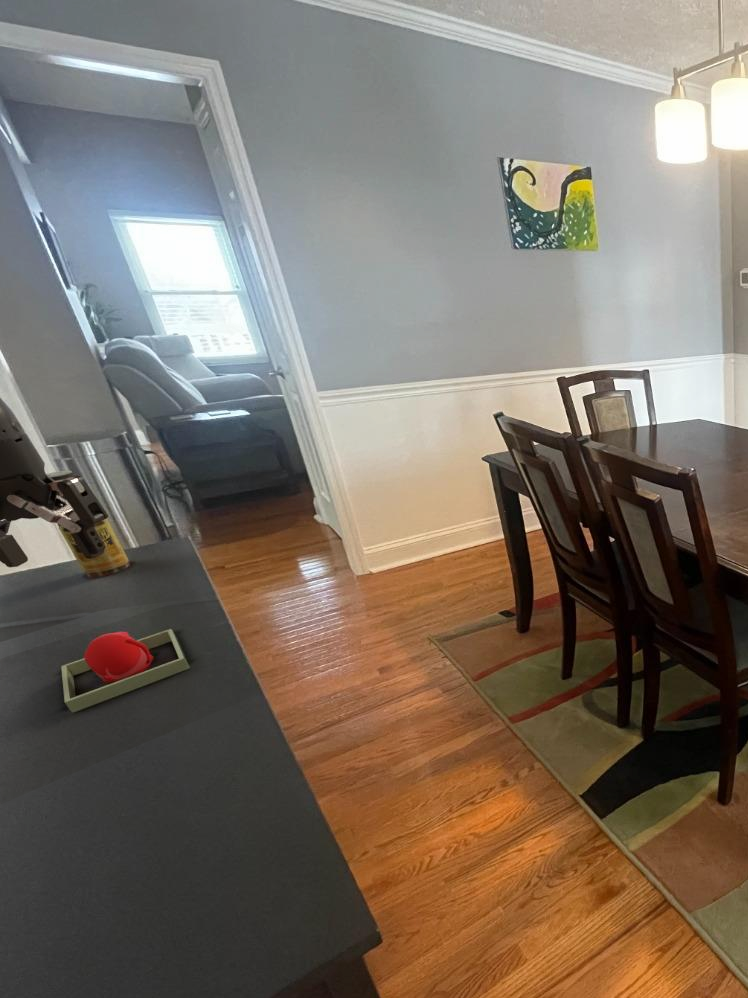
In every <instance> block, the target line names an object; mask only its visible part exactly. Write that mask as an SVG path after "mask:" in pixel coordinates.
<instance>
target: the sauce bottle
mask: <svg viewBox="0 0 748 998" xmlns="http://www.w3.org/2000/svg"><path fill="white" fill-rule="evenodd" d="M46 474H47V475H48V476H49V477H50V478H51V479H52V480H54V481H57V480H63V479H67V478H69V477H73V476H75V475H76V474H75V473H74V472H73V471H72V470H61V471H53V472H49V473H46ZM57 495H58V496H59V492H58V493H57ZM60 497H61V496H60ZM62 498H64V499H65V500H66V498H65V497H64V496H63V497H62ZM58 509H59V508H57V507H56V506H54V508H53V511H56V510H58ZM88 509H89V508H88ZM90 512H91V511H90ZM69 518H70V517H69ZM72 520H73V519H72ZM74 521H75V520H74ZM56 524H57V523H56ZM57 526H58V530H59V531H60V533H61V535H62V536H63V538H64V541H65V542H66V544H67V545H68V547H69V549H70V551H71V552H72V554H73V556H74V559H75V560H76V561H77V564H78V565H79V567H80V568H81V570H82V572H83V573H85V576H86V577H87V578H91V579H92V578H93V579H96V578H102V577H106V576H111V575H113V574H116V573H120V572H122V571H124V570H126V569H127V568H128V567H130V566H131V563H130V560H129V558H128V556H127V554H126V552H125V550H124V549H123V547H122V545H121V543H120V541H119V539H118V538H117V536H116V533H115V531H114V530H113V527H112V526H111V524H110V522H109V520H108V518H106V519H105V520H102V521H100V522H99V523H97V524H95V526H94V527H95V530H96V531H97V533H98V534H99V536H100V538H101V539H102V541H103V543H104V544H105V549H104V553H103V554H101V555H100V556H98V557H96V558H91V559H87V558H85V556H84V555H83V553H82V552H81V550H80V548H79V547H78V545H77V544H76V542H75V540H74V539H73V537H72V536H71V533H73V532H72V531H70V530H68V529H66V528H64V527H63V526H61V525H59V524H57Z"/></svg>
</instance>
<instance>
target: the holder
mask: <svg viewBox="0 0 748 998" xmlns="http://www.w3.org/2000/svg"><path fill="white" fill-rule="evenodd" d="M136 641H138V642H141V643H143V644H144V645H145V646H146V647H147V648H148V650H151V649H154V648H156V647H160V646H162V645H165V644H167V643H172V645H173V647H174V650H175V652H176V655H177V657H178V659H174V660H172V661H169V662H166V663H164V664H161V665H157V666H156V667H152V668H150V669H148V670H147V669H146V670H144V671H143V672H141V673H139V674H136V675H134V676H131V677H128V678H125V679H123V680H120V681H117V682H115V683H108V684H107V685H104V686H101V687H99V688H98V687H97V688H95V689H93V690H90V691H88V692H85V693H82V694H79V695H76V694H77V693H76V689H75V688H76V687H75V679H74V676H77V675H80V674H82V673H85V672H88V671H92V669H91V668H90V667H89V666H88V664H87V662H86V661H85V658H84V657H83V658H81V659H78V660H75V661H72V662H70V663H66V664H63V665H61V667H60V669H61V678H62V690H63V699H64V700H63V701H64V703H65V705H66V707H67V709H68V710H69V711H70V712H71V713H72V714H74V713H76V712H79V711H82V710H85V709H87V708H90V707H92V706H96V705H97V704H100V703H103V702H105V701H108V700H111V699H112V698H116V697H118V696H121V695H124V694H126V693H129V692H132V691H134V690H136V689H139V688H142V687H144V686H147V685H150V684H153V683H156V682H158V681H160V680H163V679H165V678H168V677H172V676H174V675H176V674H180V673H181V672H184V671H187V670H189V669H191V667H190V664H189V663H188V660H187V658H186V656H185V653H184V652H183V649H182V646H181V644H180V642H179V639H178V638H177V636H176V634H175V632H174V631H173V629H172V628H170V629H166V630H163V631H159V632H157V633H155V634H152V635H149V636H145V637H143V638H140V639H139V638H138V639H136Z"/></svg>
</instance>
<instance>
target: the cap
mask: <svg viewBox="0 0 748 998" xmlns="http://www.w3.org/2000/svg"><path fill="white" fill-rule="evenodd" d="M84 658H85V661H86V662H87V664H88V666H89V667H90V668H91V671H93V672H94V674H96V676H98V678H101V680H102V682H104V683H107V684H112V683H115V682H117V681H120V680H123V679H125V678H128V677H131V676H134V675H136V674H139V673H142V672H144V671H147V669H148V668H149V666H150V665H151V664H152V662H153V660H154V656H153V654H151V653H150V649H148V648H147V647H146V646H145V645H144V644H143V643H141V642H138V641H137V639H136V640H135V639H134V638H133V637H131V636H130V634H129V633H128V632H127V631H117V632H111V633H105V634H102V635H100V636H99V635H98V637H96V638H94V639H93V640H92V641H91V642H90V643H89V644H88V646H87V647H86V650H85V653H84V657H83V659H84Z"/></svg>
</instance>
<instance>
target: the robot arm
mask: <svg viewBox="0 0 748 998" xmlns="http://www.w3.org/2000/svg"><path fill="white" fill-rule="evenodd" d="M45 464H46V463H45V461H44V460H43V458H42V456H41V455H40V453H39V451H38V450H37V448H36V447H35V444H34V443H33V441H32V440H31V438H30V437H29V435H28V434H27V432H26V430H25V429H24V427H23V425H22V424H21V422H20V421H19V419H18V417H17V416H16V414H15V413H14V411H13V410H12V408H11V407H10V406H9V405H8V403H7V402H6V401H5V400H4V399H3V398H2V397H1V396H0V562H1V563H2V564H4V565H5V566H6V567H7V568H17V567H20V566H22V565H24V564H25V563H27V562H28V560H29V558H28V556H27V555H26V553H25V552H24V550H23V549H22V546H20V544H19V543H18V541H17V539H16V538H15V537H14V535H13V534H11V533H10V534H8V533H9V531H10V526H11V522H14V521H17V520H20V519H26V520H27V519H28V520H34V519H39V518H40V519H42V520H44V521H46V522H48V523H50V524H51V523H52V524H53V523H55V524H59V525H61V526H63V527H64V528H66V529H68V530H70V531H72V532H73V533H71V536H72V537H73V539H74V540H75V542H76V544H77V545H78V547H79V548H80V550H81V552H82V553H83V555H84V556H85V558H87V559H91V558H96V557H98V556H100V555H101V554H103V553H104V549H105V544H104V543H103V541H102V539H101V538H100V536H99V534H98V533H97V531H96V530H95V527H94V526H95V524H97V523H99V522H100V521H102V520H105V519H108V518H109V514H108V512H107V511H106V510H105V508H104V506H103V505H102V504H101V502H100V501H99V499H98V498H97V496H96V495H95V493H94V492H93V490H92V488H91V487H90V486H89V484H88V483H87V481H86V480H85V479H84V477H82V476H81V475H76V474H74V475H75V476H73V477H69V478H67V479H63V480H57V481H54V480H52V479H51V478H50V477H49V476H48V475H47V474H48V473H46V471H45V470H46V469H45V466H46V465H45ZM58 492H59V496H58V495H57V493H58ZM60 496H61V497H60ZM63 496H64V497H65V498H66V500H65V499H64V498H62V497H63ZM54 506H56V507H57V508H59V509H58V510H56V511H53V508H54ZM88 508H89V509H88ZM90 511H91V512H90ZM69 517H70V518H69ZM72 519H73V520H72ZM74 520H75V521H74Z"/></svg>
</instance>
